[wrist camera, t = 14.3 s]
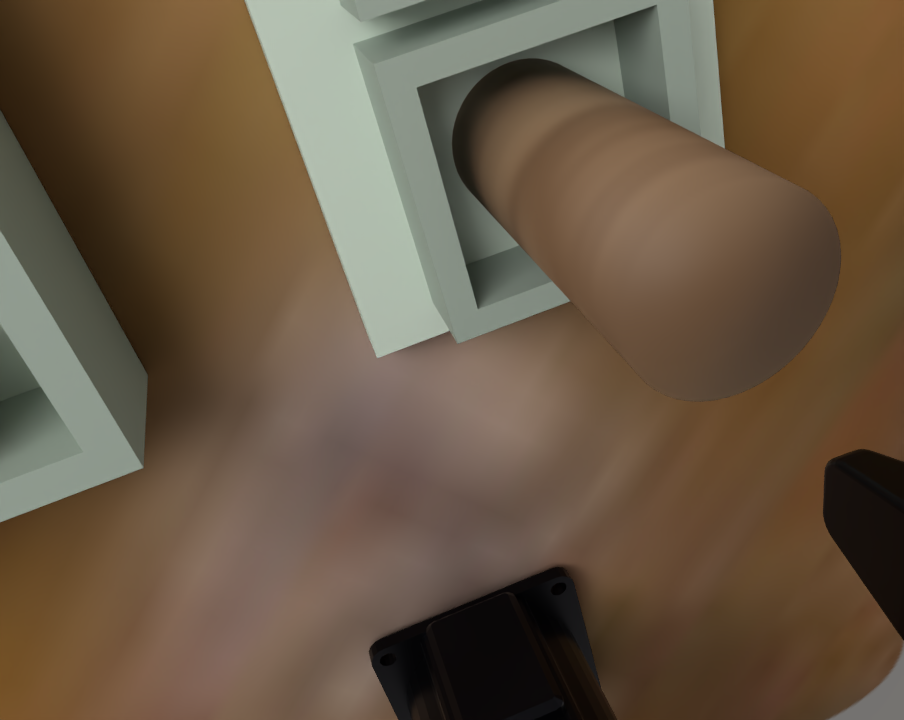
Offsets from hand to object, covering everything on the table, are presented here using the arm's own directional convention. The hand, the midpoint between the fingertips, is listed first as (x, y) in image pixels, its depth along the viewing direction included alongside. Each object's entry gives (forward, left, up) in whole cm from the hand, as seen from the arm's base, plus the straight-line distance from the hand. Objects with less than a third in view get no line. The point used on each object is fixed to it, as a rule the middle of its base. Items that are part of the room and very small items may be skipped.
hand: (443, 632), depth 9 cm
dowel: (+1, -5, -11) cm, 12 cm away
